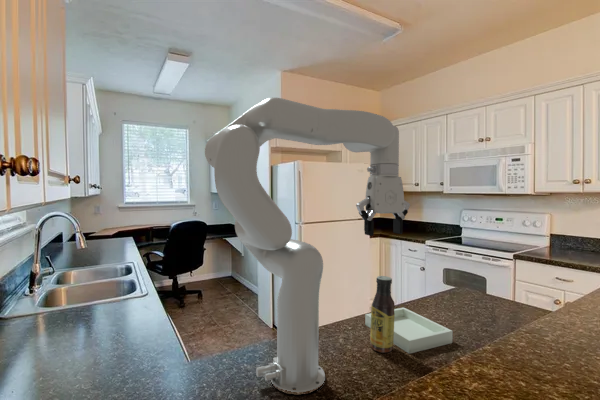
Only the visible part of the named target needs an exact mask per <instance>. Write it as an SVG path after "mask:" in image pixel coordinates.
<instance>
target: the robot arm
mask: <svg viewBox="0 0 600 400" xmlns="http://www.w3.org/2000/svg"><path fill="white" fill-rule="evenodd" d="M274 139H276V140H277V139H279V140H285V141H292V142H297V143H303V144H309V145H314V146H330V145H331V146H332V145H338V144H339V145H340V144H343V147H345V148H346V150H348V151H350V152H352V153H367V152H369V154H370V155H369V156H370V158H369V159H370V164H369V165H370V166H368V167H367V168H366V170H367V172H368V173H369V176H368V179H367V182H366V189H365V197H364V199H362V200H360V201H359V202H358V203H356V205H355V206H356V209H357V211H358V214H359V216H361V218H362V220H363V222H364V223H363V224H364V225H363V228H364V229H363V231H364V235H366V236H374V235H375V233H374V232H375V231H374V229H375V224H374V223H375V221H374V220H373V218H374V217H375V215H376V214H392V215H393V216H394V218H393V220H392V222H393V223H392V224H393V225H392V233H394V234H398V235H402V234H404V233H403V231H404V230H403V229H404V228H403V227H404V225H403V221H404V220H405V219H406V216H407V214H408V213H409V209H410V206H411V203H410V202H408V201H407V200H406V199H405V194H404V184H403V180H402V177H401V176H399V175H400V173H399V172H400V171H399V170H400V167H399V165H400V164H399V163H400V159H399V158H400V157H399V156H400V130H399V128H398V127H397V126H395V125H394V124H393V123H392V121H391V120H390V119H388V117H385V116H383V115H380V114H377V113H374V112H369V111H365V110H353V109H336V108H335V109H333V108H322V107H318V106H312V105H309V104H307V103H305V104H304V103H301V102H298V101H295V100H289V99H286V98H280V97H268V98H266V99H264V100H262V101H261V102H258V103H257V104H255V105H253V106H252V107H250V108H249V109H247V111H245V112H244V113H243V114H241V115H240V116H239V117H238V118H236V119H235V120H233V121H232V122H230V123H229V124H228V125H226V126H225V127H223V128H222V129H220V130H219V131H217V132H216V133H214V135H212V136H211V137H210V138H209V139H208V141H206V144H205V147H204V155H205V159H206V161H207V162H208V164H209V166H211V167H212V168H213V169H214V171H213V172H214V183H215V184H214V185H215V189H216V192H217V195H218V197H219V199H220V201H221V203H222V204H223V205H224V207H225V208H226V209H227V211H228V212H229V213H230V214H231V216H232V217H233V218H234V219H235V221H234V230H235V234H236V237H237V238H238V240H239V241H240V242H241V244H242V245H243V246H244V247H245V248H246V250H247V251H248V252H249V253H251V255H252V256H253V257H254V258H255V259H256V260H257V262H259V264H260V265H261V266H262V267H264V268H265V270H266V271H267V272H269V273H271V274H272V275H274V276H276V277H278V278H280V279H281V284H280V288H279V291H278V294H277V298H276V299H277V303H276V305H277V306H276V314H277V316H276V318H277V321H276V322H277V324H276V325H277V326H276V331H277V333H276V334H277V335H276V357H273V358H272V362H269V363H268V364H269V365H262V366H258V367H256V368H255V374H256V377H257V378H260V377H264V379H265V380H264V381H265V382H267V381H270V380H271V382H272V384H274V385H275V386H276V387H278V388H280V389H283V390H287V391H291V392H306V391H310V390H313V389H316V388H318V387H320V386H321V385H322V384H323V383H324V384H325V382H324V381H326V374H325V371H324V369H323V368H322V367H321V366H320V365H319V335H320V334H319V332H320V330H319V328H320V327H319V324H320V322H319V318H320V317H319V312H320V311H319V307H320V306H319V305H320V302H319V301H320V288H321V284H322V283H321V282H322V277H323V272H324V260H323V257H322V254H321V252H320V251H319V250H318V249H317V248H316V247H315V246H314V245H312V244H310V243H308V242H305V241H302V240H298V239H297V240H296V239H294V238H293V239H292V235H293V230H292V229H293V228H292V225H291V222H290V221H289V219H288V217H287V216H286V215H285V213H284V212H283V211H282V210H281V208H279V205H277V204H276V202H275V201H274V200H273V198H272V197H271V196H270V195H269V194H268V193H267V191H266V189H265V188H264V187H263V186H262V183H261V182H260V179H259V177H258V171H257V169H258V168H257V166H258V160H259V156H260V150H261V147H262V146H263V145H264V144H265V143H267V142H268V141H271V140H274ZM271 382H270V383H271ZM272 384H271V385H272ZM324 384H323V385H324ZM293 389H296V390H293Z"/></svg>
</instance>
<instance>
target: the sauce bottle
mask: <svg viewBox="0 0 600 400" xmlns="http://www.w3.org/2000/svg"><path fill="white" fill-rule="evenodd" d="M392 283H393V278H391V277H390V276H387V275H378V276H377V277H376V291H375V295H374V298H373V300H372V303H371V309H370V310H371V311H370V313H371V328H370V337H369V341H370V347H371V349H372V350H374V351H375V352H378V353H381V354H384V353H385V354H386V353H387V354H388V353H390V352H392V351H393V348H394V343H393V339H394V315H395V313H394V309H395V305H396V304H395V301H394V299H393V297H392Z"/></svg>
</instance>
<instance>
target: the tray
mask: <svg viewBox="0 0 600 400" xmlns="http://www.w3.org/2000/svg"><path fill="white" fill-rule="evenodd" d="M394 313H395V315H394V339H393V345H395V346H397V347H398V348H399V349H401V350H403V351H404V352H406V353H407V354H409V355H410V354H414V353H417V352H420V351H421V352H422V351H426V350H429V349H434V348H437V347H441V346H445V345H450V344H452V343H453V339H454V338H453V332H454V331H453V330H452V329H449V328H448V327H446V326H443V325H441V324H439V323H437V322H435V321H433V320H432V319H429V318H427V317H425V316H422V315H420V314H418V313H416V312H414V311H412V310H410V309H408V308H405V307H398V308H394ZM364 317H365V319H364V320H365V324H364V325H365V326H366V327H368V328H370V329H371V312H369V313H365V314H364Z"/></svg>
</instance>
